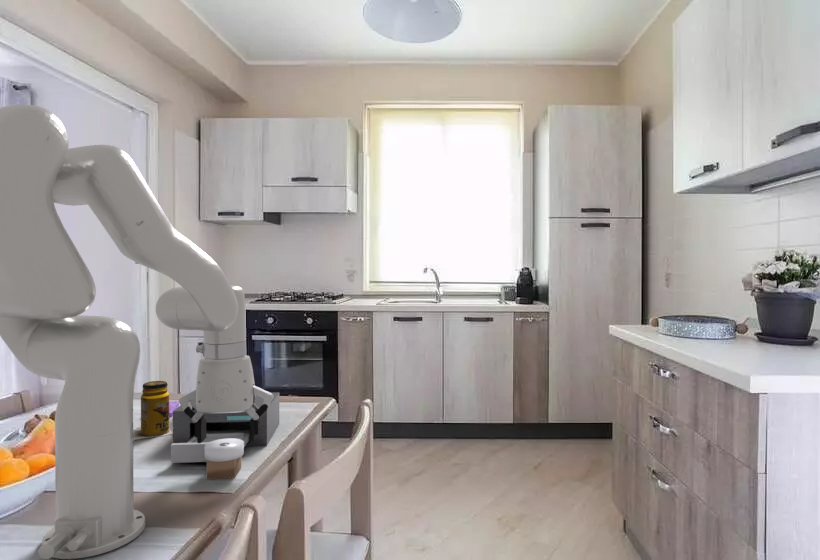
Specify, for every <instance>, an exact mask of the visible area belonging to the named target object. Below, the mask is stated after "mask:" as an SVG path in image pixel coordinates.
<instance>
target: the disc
mask: <svg viewBox="0 0 820 560" xmlns="http://www.w3.org/2000/svg"><path fill="white" fill-rule="evenodd" d="M244 453H245V447H244V441H243V440H241V439H236V438H226V439H219V440H214V441H211V442H209V443H207V444H206V445H205V459H206V460H208V461H213V462H222V461H229V460H233V459H237V458H239V457H241V458H242V456H243V455H244Z"/></svg>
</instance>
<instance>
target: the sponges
mask: <svg viewBox="0 0 820 560" xmlns="http://www.w3.org/2000/svg"><path fill="white" fill-rule="evenodd" d="M179 406H180V403H179V400H171V401H170V400H169V418H173V411H174V410H175V409H177V408H178V407H179Z"/></svg>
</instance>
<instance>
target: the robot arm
mask: <svg viewBox="0 0 820 560" xmlns="http://www.w3.org/2000/svg"><path fill="white" fill-rule="evenodd" d="M68 135H69V134H68V132H67V130H66V127H65V125H64V123H63V121H62V120H61V119H60V118H59V117H58V116H57V115H56V114H54V113H53V112H52V111H50V110H49V109H47V108H45V107H42V106H38V105H34V104H14V105H6V106H1V107H0V338H1V339H2V341H3V342H4V344H5V345H6V346H7V348H9V350H10V351H11V353H12V354H13V355H14V357H15V359H16V360H17V361H18V362H19V363H20V364H21V366H23V367H24V368H25V369H26V370H28V371H29V372H30V373H32V374H34V375H35V376H39V377H42V378H45V379H51V380H52V379H53V380H58V381H59V380H60V381H64V385H63V389H62V391H61V394H60V396H59V400H58V401H57V405H56V409H55V416H54V445H55V446H54V449H55V451H54V457H55V458H54V459H55V462H54V463H55V465H54V467H55V469H54V470H55V471H54V473H55V482H54V483H55V485H54V486H55V521H54V526H53V527H52V528H51V529H50V530H48V531H47V533H45V535H44V536H43V537H42V540H41V546H39V548H38V552H37V554H38V555H39V557H40V558H41V559H43V560H49V559H51V558H54V559H59V560H75V559H78V560H79V559H83V558H89V557H95V556H99V555H102V554H105V553H109V552H111V551H113V550H116V549H118V548H122V547H123V546H125V545H128V543H131V542H132V541H133V540H135V539H136V538H137V537H138V536H140V535H141V534H142V533H143V531H144V529H145V528H146V516H145V514H144V513H142V511H139V510H137V509H135V508H134V503H135V502H134V496H135V495H134V440H133V430H134V395H135V392H134V391H135V383H136V378H137V373H138V368H139V365H140V358H141V343H140V340H139V336H138V335H137V333H136V332H135V331H134V329H133V328H132V327H131V326H130V325H129V324H127V323H126V322H124V321H121V320H119V319H116V318H113V317H109V316H108V317H107V316H103V315H102V316H100V315H84V314H83V313H85V312H86V311H87V310H88V309H89V308H90V307H91V306H92V305H93V303H94V301H95V298H96V295H97V294H96V292H97V289H96V288H97V287H96V284H95V280H94V277H93V276H92V274H91V272H90V269H89V268H88V266H87V264H86V263H85V261H84V259H83V257H82V256H81V254H80V252H79V251H78V249H77V247H76V245H75V244H74V242H73V240H72V239H71V236H70V235H69V233H68V232H67V231H68V230H66V228H65V226H64V225H63V222H62V220H61V217H60V216H59V213H58V212H57V209H56V206H55V204H59V205H62V206H63V205H65V206H71V207H73V206H85V205H88V208H90V210H91V211H92V213H93V214H94V216H95V217H96V218H97V220H98V221H99V223H101V226H102V227H103V229H104V230H105V231H106V232H107V234H108V235H109V237H110V239H111V240H112V241H113V243H114V244H115V246H116V247H117V249H118V250H119V251H120V253H121V254H122V255H123V256H124V257H125V258H127V259H129V260H131V261H133V262H135V263H137V264H139V265H141V266H142V267H146V268H148V269H151V270H153V271H156V272H158V273H161V274H163V275H165V276H166V277H169V278H170V280H173V281H174V282H176V283H177V284H178V285H179V287H174V288H171V289H167V291H164V292H163V293H162V294H161V295H160V296H159V297H158V299H157V300H156V304H155V313H156V317H157V319H158V320H159V322H160V323H161V324H163V325H164V326H166V327H168V328H171V329H175V330H182V331H202V332H203V343H202V344H200V345H196V347H195V351H196V353H197V354H198V353H200V354H202V357H203V358H201V359H199V361H198V368H197V373H196V374H197V375H196V384H195V385H196V386H195V389H194V390H193V391H190V392H189V393H186V394H185V395H183V396H182V397H179V399H178V401H179V406H182V408H183V409H184V412H185V414H187V415H188V416H189V417H190V418H191V419H192V422H194V426H195V437H197V443H201V442H203V441H204V440H205V438H206V419H205V417H204V416H203V415H204V414H214V413H238V412H245V411H246V412H247V413H248V414H249V415H250V416H251V420H250V440H251V441H254V440H255V439H256V437H257V435H259V434H260V416H261V415H262V414H263V413H264V412H265V411H266V410H267V408H268V407H269V405H270V403H271V401H272V399H273V397H274V395H273V394H272V392H270V391H267V390H265V389H263V388H261V387H259V386H256V385H255V383H256V382H255V377H254V369H253V364H252V360H251V357H250V355H247V337H246V335H247V334H246V333H247V331H246V330H247V329H246V328H247V327H246V305H245V304H246V303H245V302H246V300H245V299H246V298H245V290H244V289H243V288H242V287H240V286H238V285H231V284H230V282H229V280H228V278H227V276H226V275H225V272H224V271H223V270H222V268H221V267H220V265H219V264H218V263H217V262H216V261H215V260H214V258H212V257H211V256H210V255H208V253H206V252H205V251H204V250H203V249H201V248H200V247H199V246H198V245H196V244H195V243H194V242H192V241H191V240H190V239H188V238H187V237H186V236H184V235H183V234H182V233H181V232H179V231H178V230H177V229H176V228H175V227H174V226H173V224H172V223H171V221H170V219H169V217H167V215H166V213H165V211H164V209H163V208H162V206H161V205H160V203H159V202H158V199H157V198H156V196H155V195H154V193H153V192H152V189H151V188H150V186H149V184H148V183H147V181H146V179H145V177H144V176H143V175H142V173H141V171H140V169H139V168H138V166H137V165H136V163H135V161H134V160H133V159H132V157H131V156H130V155H129V154H128V153H127V152H126V151H125V150H123V149H122V148H120V147H117V146H114V145H110V144H90V145H84V146H77V147H70V144H69V136H68ZM69 147H70V148H69ZM81 314H83V315H81ZM255 395H257V396H259V397H261V398H263V399H264V402H263V404H262V405H261V406H260V408H258V407H257V406H256V405H255V404H254V403H255ZM195 397H196V409H197V410H196V409H195V408H194V407H193V406H192V405H191V403H190V400H192V399H193V398H195Z"/></svg>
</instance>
